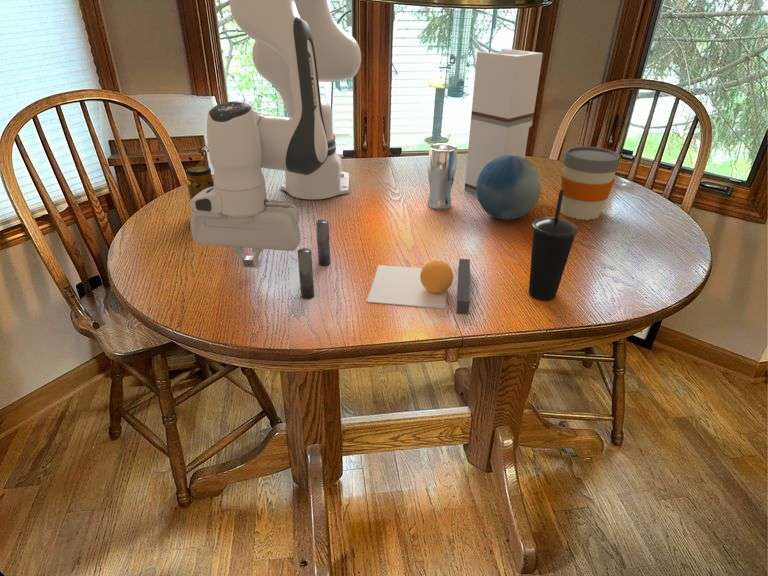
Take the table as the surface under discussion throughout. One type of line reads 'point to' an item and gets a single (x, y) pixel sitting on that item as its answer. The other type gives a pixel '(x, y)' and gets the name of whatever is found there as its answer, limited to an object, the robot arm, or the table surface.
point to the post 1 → (306, 273)
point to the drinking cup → (550, 253)
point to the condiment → (199, 180)
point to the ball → (436, 276)
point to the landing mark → (403, 288)
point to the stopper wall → (463, 286)
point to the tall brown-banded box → (501, 108)
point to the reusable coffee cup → (587, 180)
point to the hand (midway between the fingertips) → (250, 266)
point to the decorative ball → (508, 187)
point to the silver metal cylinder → (441, 175)
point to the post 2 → (323, 242)
